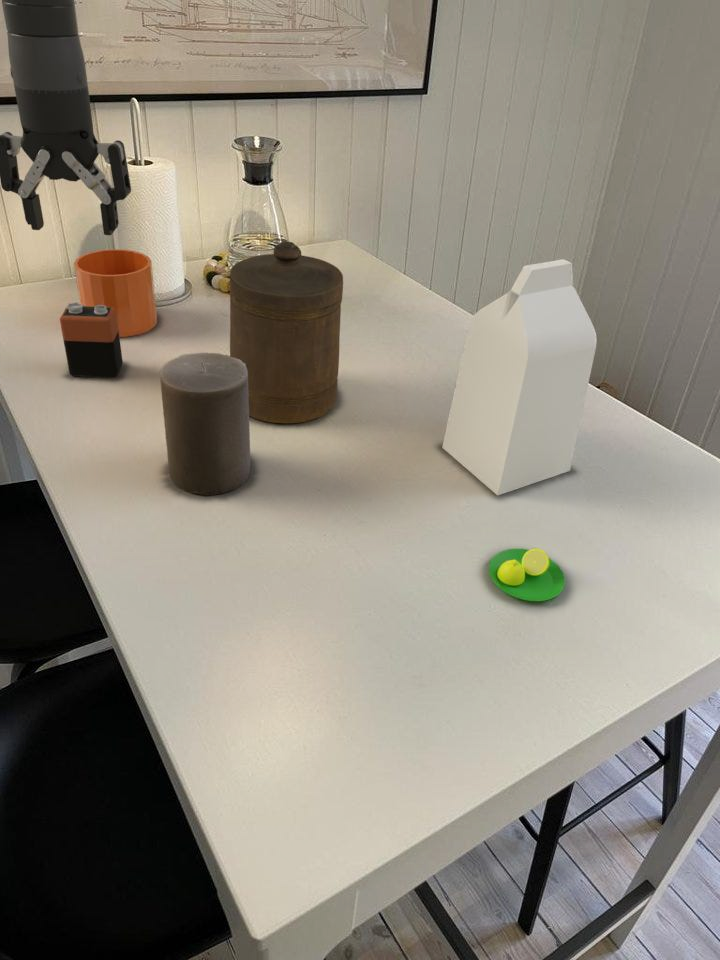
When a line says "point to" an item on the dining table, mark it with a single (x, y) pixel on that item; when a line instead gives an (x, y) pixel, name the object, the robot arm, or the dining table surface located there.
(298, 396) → the wooden container
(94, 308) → the battery
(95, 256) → the pot
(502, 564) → the plate of lemons
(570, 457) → the milk
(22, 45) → the robot arm
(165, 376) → the pillar candle
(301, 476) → the dining table surface
